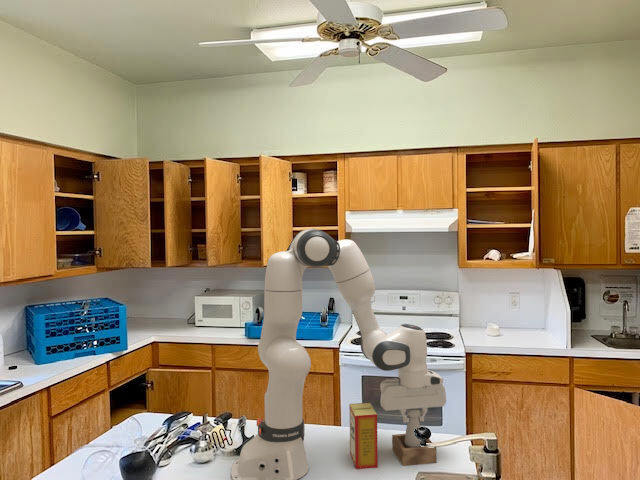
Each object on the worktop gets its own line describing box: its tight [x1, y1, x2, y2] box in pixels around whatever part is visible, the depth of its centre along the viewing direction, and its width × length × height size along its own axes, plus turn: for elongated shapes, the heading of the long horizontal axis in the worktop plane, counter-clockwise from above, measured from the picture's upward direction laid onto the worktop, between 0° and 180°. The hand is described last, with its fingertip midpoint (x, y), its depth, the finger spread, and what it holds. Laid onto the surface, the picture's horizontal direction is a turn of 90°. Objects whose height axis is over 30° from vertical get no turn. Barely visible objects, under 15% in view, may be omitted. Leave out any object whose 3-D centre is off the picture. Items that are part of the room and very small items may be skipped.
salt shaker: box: [404, 408, 422, 448], centre depth 137 cm, size 6×6×13 cm
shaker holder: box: [391, 433, 437, 467], centre depth 137 cm, size 10×10×5 cm
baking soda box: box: [349, 402, 379, 470], centre depth 135 cm, size 10×6×16 cm
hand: (413, 421), depth 137 cm, fingers closed on salt shaker, 3 cm apart
